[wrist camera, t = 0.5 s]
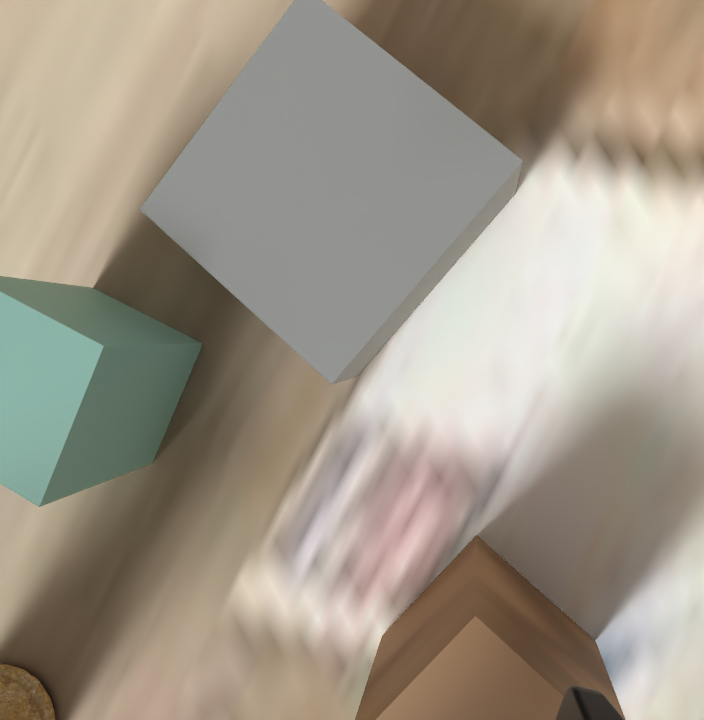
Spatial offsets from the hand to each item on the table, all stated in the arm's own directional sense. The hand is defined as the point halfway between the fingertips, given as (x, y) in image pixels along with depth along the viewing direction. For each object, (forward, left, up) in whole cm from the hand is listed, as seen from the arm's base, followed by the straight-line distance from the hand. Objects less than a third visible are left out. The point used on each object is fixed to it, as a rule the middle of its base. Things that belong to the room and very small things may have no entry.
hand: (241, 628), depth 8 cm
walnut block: (-7, +2, -13) cm, 15 cm away
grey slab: (+6, -6, -13) cm, 15 cm away
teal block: (+9, +4, -13) cm, 16 cm away
